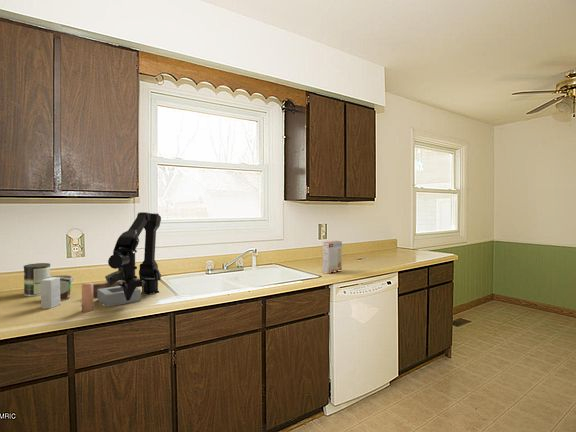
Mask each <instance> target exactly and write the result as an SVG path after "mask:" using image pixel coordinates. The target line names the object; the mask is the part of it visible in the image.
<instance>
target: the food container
mask: <svg viewBox="0 0 576 432" xmlns="http://www.w3.org/2000/svg"><path fill="white" fill-rule="evenodd" d="M50 277H60V301H61V300H62V301H63V300H65V301H66V300H67V301H68V300H69V299H70V298H71V288H72V282H73V281H74V279H73V277H72V275H68V274H67V275H66V274H65V275H62V274H61V275H59V274H58V275H52V276H51V275H50ZM50 277H45V278H44V279H47V278H50Z"/></svg>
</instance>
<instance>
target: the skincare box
mask: <svg viewBox="0 0 576 432" xmlns="http://www.w3.org/2000/svg"><path fill="white" fill-rule="evenodd" d="M60 305H61V300H60V277H50V278H47V279H44V280H41V295H40V308H41V309H42V310H43V309H45V310H46V309H54V308H55V307H57V306H60Z"/></svg>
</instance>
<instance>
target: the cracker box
mask: <svg viewBox="0 0 576 432" xmlns="http://www.w3.org/2000/svg"><path fill="white" fill-rule="evenodd" d="M342 245H343V242H342V241H341V240H331V241H323V242H322V273H323V272H327V273H326V274H328V273H330V272H334V271H338V270H343V264H342V263H343V251H342V249H343V246H342ZM330 274H331V273H330Z"/></svg>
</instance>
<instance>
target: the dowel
mask: <svg viewBox="0 0 576 432" xmlns="http://www.w3.org/2000/svg"><path fill="white" fill-rule="evenodd" d="M93 284H94V282H83V283H81V312H84V313H87V312H89V313H90V312H92V311H94V298H93Z"/></svg>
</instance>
